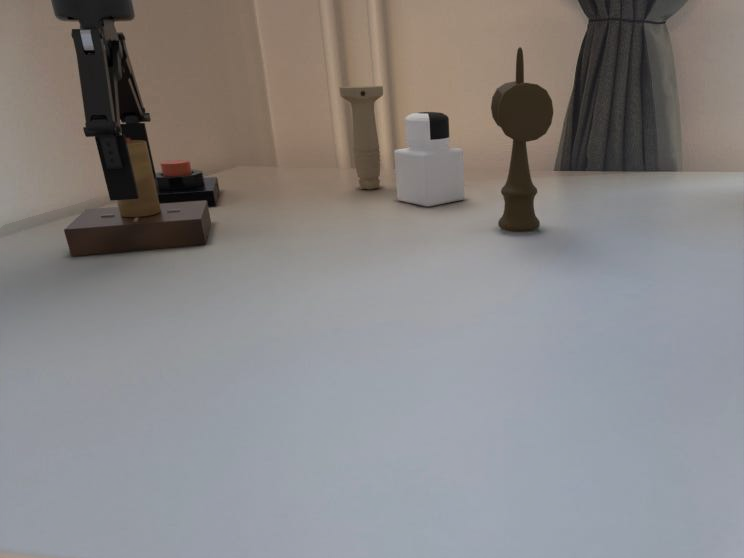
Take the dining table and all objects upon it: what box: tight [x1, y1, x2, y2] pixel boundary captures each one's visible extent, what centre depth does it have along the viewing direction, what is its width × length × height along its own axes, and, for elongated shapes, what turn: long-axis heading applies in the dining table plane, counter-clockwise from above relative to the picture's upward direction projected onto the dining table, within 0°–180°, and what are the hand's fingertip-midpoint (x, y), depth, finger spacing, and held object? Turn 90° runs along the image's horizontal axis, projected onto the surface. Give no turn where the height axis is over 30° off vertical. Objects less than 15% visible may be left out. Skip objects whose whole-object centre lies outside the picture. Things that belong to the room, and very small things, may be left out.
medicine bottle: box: [393, 111, 465, 208], centre depth 96 cm, size 7×7×12 cm
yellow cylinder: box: [116, 138, 161, 217], centre depth 78 cm, size 4×4×8 cm
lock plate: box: [63, 200, 212, 257], centre depth 80 cm, size 14×11×3 cm
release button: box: [159, 159, 192, 176], centre depth 100 cm, size 4×4×2 cm
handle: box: [339, 85, 384, 191], centre depth 105 cm, size 5×6×15 cm
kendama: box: [490, 46, 554, 233], centre depth 77 cm, size 6×10×20 cm, turn 6°
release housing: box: [154, 169, 221, 207], centre depth 101 cm, size 10×12×4 cm
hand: (135, 188), depth 79 cm, fingers open, 13 cm apart
